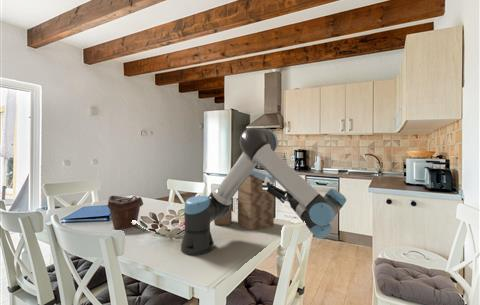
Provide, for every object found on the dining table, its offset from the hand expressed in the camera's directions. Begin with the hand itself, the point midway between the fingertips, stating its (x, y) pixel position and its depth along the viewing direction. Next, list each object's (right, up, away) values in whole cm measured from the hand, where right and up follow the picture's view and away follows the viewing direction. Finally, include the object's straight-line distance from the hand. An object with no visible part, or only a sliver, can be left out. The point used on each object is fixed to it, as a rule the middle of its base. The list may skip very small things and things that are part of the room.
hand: (276, 177), depth 124 cm
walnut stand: (-9, -31, +27) cm, 42 cm away
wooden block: (-29, -31, +30) cm, 52 cm away
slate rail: (-10, -1, +19) cm, 22 cm away
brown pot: (-88, -31, +25) cm, 96 cm away
